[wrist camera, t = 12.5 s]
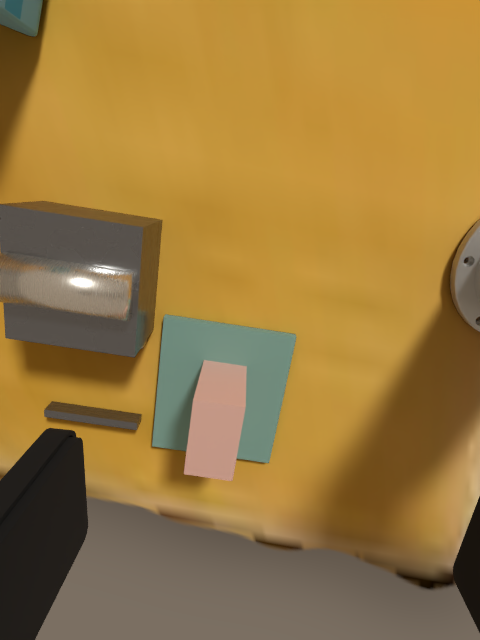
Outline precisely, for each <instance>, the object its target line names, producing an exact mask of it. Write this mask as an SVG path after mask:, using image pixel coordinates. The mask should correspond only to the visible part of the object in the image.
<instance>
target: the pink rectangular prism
mask: <svg viewBox="0 0 480 640" xmlns="http://www.w3.org/2000/svg"><path fill="white" fill-rule="evenodd" d="M246 374H247V366H241V365H235V364H228V363H221V362H215V361H208V360H204V362H203V365H202V369H201V373H200V376H199V380H198V384H197V387H196V391H195V395H194V398H193V404H192V412H191V420H190V428H189V436H188V444H187V451H186V460H185V468H184V474H186V475H193V476H200V477H207V478H214V479H221V480H228V481H232V480H233V475H234V469H235V464H236V459H237V453H238V447H239V441H240V436H241V430H242V425H243V419H244V414H245V408H246Z"/></svg>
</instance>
